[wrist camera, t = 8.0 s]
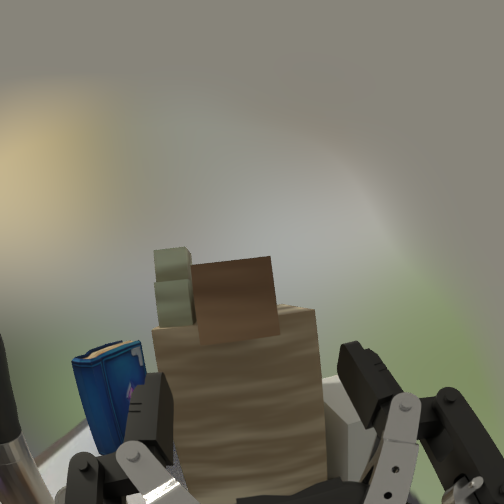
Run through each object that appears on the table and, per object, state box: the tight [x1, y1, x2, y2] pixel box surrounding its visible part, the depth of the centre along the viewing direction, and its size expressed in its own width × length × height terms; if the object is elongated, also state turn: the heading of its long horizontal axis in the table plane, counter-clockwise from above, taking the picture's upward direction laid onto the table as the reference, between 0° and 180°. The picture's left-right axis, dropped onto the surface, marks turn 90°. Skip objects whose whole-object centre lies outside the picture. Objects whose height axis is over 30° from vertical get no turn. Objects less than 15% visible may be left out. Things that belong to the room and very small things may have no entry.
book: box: [71, 340, 147, 455], centre depth 56 cm, size 22×7×25 cm, turn 171°
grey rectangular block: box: [322, 375, 376, 482], centre depth 29 cm, size 15×7×20 cm, turn 5°
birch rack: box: [152, 247, 327, 504], centre depth 29 cm, size 14×14×39 cm
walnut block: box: [190, 256, 280, 345], centre depth 27 cm, size 26×4×4 cm, turn 5°
